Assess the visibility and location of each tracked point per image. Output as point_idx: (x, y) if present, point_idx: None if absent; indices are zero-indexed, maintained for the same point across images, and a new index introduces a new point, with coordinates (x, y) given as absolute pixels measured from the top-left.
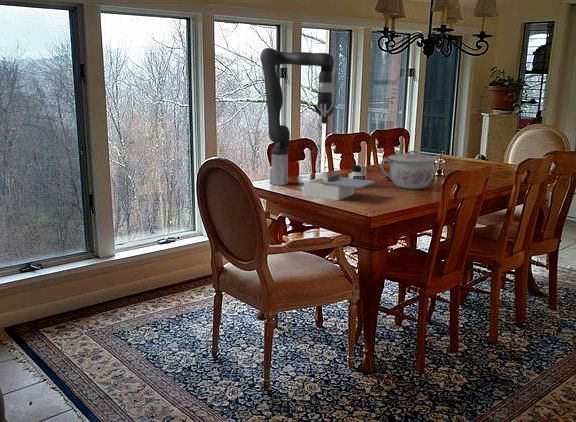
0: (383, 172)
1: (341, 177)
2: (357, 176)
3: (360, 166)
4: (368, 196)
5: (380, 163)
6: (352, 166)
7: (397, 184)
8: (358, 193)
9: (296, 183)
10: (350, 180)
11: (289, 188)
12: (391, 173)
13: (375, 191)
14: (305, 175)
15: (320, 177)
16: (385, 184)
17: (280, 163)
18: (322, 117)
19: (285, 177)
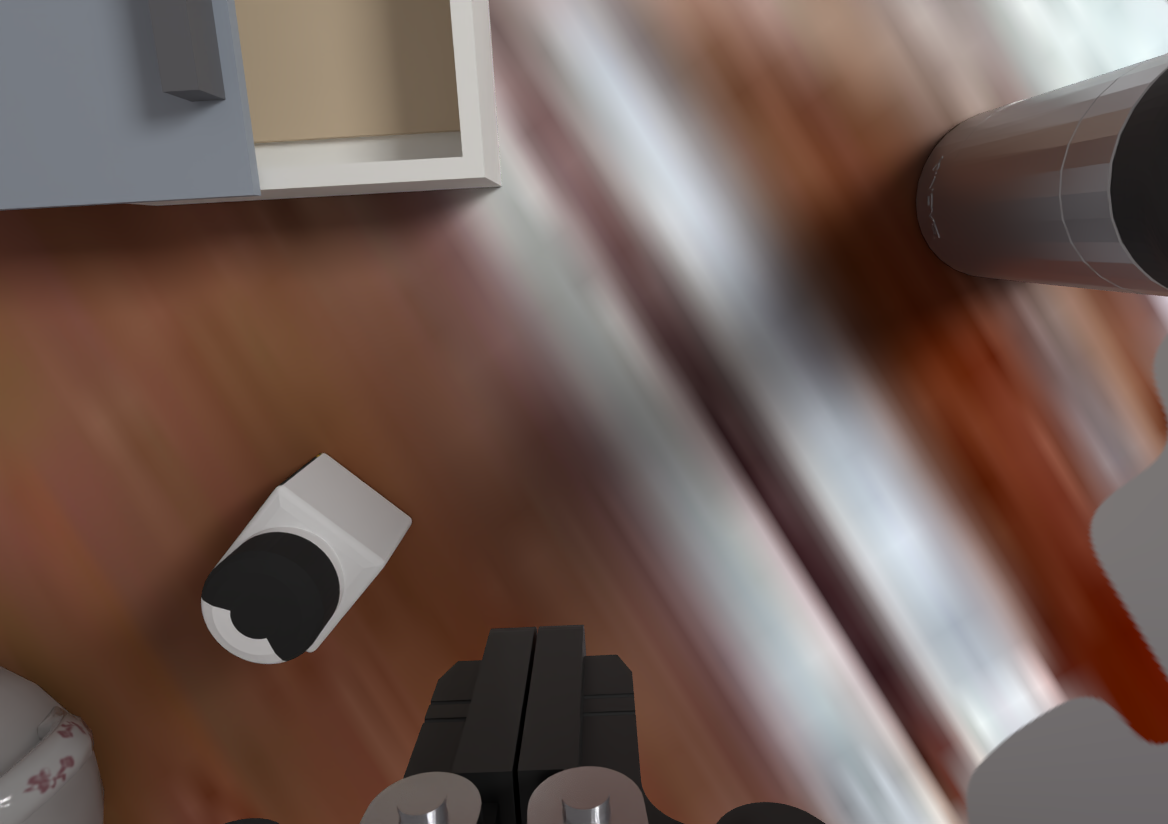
0: (76, 717)
1: (224, 195)
2: (255, 514)
3: (209, 603)
4: None
5: (54, 778)
6: (293, 571)
7: (7, 672)
8: (147, 263)
9: (865, 325)
10: (38, 85)
11: (789, 58)
12: (3, 730)
13: (91, 434)
14: (999, 716)
15: (481, 163)
16: (202, 749)
17: (1084, 92)
18: (571, 750)
19: (949, 179)
